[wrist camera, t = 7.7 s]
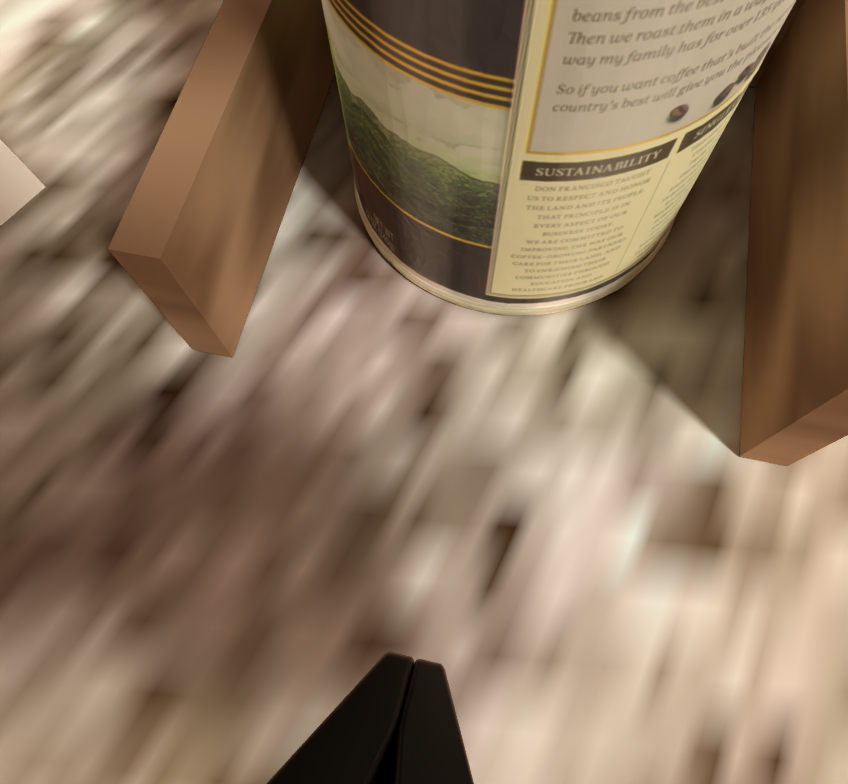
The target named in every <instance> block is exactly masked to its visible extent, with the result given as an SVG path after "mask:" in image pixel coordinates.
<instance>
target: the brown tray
mask: <svg viewBox="0 0 848 784" xmlns="http://www.w3.org/2000/svg"><path fill="white" fill-rule="evenodd" d="M334 74H335V69H334V63H333V58H332V53H331V48H330V43H329V38H328V32H327V27H326V22H325V17H324V11H323V6H322V0H224V2H223V4H222V6H221V8H220V10H219V12H218V14H217V17H216V19H215V21H214V23H213V25H212V27H211V29H210V31H209V34H208V36H207V38H206V40H205V42H204V44H203V46H202V49H201V51H200V53H199V55H198V57H197V59H196V61H195V63H194V66H193V68H192V70H191V72H190V74H189V76H188V78H187V81H186V83H185V85H184V87H183V89H182V91H181V93H180V95H179V98H178V100H177V102H176V104H175V106H174V108H173V110H172V113H171V115H170V117H169V119H168V121H167V123H166V125H165V128H164V130H163V132H162V134H161V136H160V138H159V140H158V142H157V145H156V147H155V149H154V151H153V153H152V155H151V157H150V160H149V162H148V164H147V166H146V168H145V170H144V172H143V174H142V177H141V179H140V181H139V183H138V185H137V187H136V189H135V192H134V194H133V196H132V198H131V200H130V202H129V204H128V207H127V209H126V211H125V213H124V215H123V217H122V219H121V221H120V224H119V226H118V228H117V230H116V232H115V234H114V236H113V239H112V241H111V243H110V245H109V247H108V250H109V251H110V252H111V254H112V255H113V256H114V257H115V258H116V260H117V261H118V262H119V263H120V264H121V265H122V267H123V268H124V269H125V270H126V271H127V272H128V274H129V275H130V276H131V277H132V278H133V280H134V281H135V282H136V283H137V284H138V285H139V287H140V288H141V289H142V290H143V291H144V293H145V294H146V295H147V296H148V297H149V298H150V300H151V301H152V302H153V303H154V304H155V306H156V307H157V308H158V309H159V310H160V311H161V313H162V314H163V315H164V316H165V317H166V318H167V320H168V321H169V322H170V323H171V324H172V326H173V327H174V328H175V329H176V330H177V331H178V333H179V334H180V335H181V336H182V337H183V339H184V340H185V341H186V342H187V343H188V344H189V346H190V347H191V348H192V349H193V350H198V351H203V352H208V353H213V354H218V355H223V356H228V357H233V355H234V352H235V349H236V347H237V344H238V341H239V338H240V335H241V333H242V330H243V327H244V324H245V322H246V319H247V316H248V313H249V310H250V308H251V305H252V302H253V299H254V296H255V294H256V291H257V288H258V285H259V283H260V280H261V277H262V274H263V271H264V269H265V266H266V263H267V260H268V258H269V255H270V252H271V249H272V246H273V244H274V241H275V238H276V235H277V233H278V230H279V227H280V224H281V221H282V219H283V216H284V213H285V210H286V208H287V205H288V202H289V199H290V196H291V194H292V191H293V188H294V185H295V182H296V180H297V177H298V174H299V171H300V169H301V166H302V163H303V160H304V157H305V155H306V152H307V149H308V146H309V144H310V141H311V138H312V135H313V132H314V130H315V127H316V124H317V121H318V119H319V116H320V113H321V110H322V107H323V105H324V102H325V99H326V96H327V94H328V91H329V88H330V85H331V82H332V80H333V77H334ZM749 86H751V87H756V88H755V111H754V134H753V157H752V180H751V203H750V226H749V249H748V272H747V295H746V318H745V341H744V364H743V387H742V410H741V433H740V456H739V457H743V458H748V459H754V460H759V461H764V462H769V463H774V464H779V465H784V466H788V465H790V464H792V463H794V462H796V461H798V460H800V459H802V458H804V457H806V456H808V455H810V454H812V453H813V452H815V451H817V450H819V449H821V448H823V447H825V446H827V445H829V444H831V443H833V442H835V441H837V440H839V439H841V438H843V437H845V436H847V435H848V0H796V2H795V4H794V5H793V7H792V9H791V11H790V13H789V14H788V16H787V18H786V20H785V22H784V23H783V25H782V27H781V29H780V31H779V32H778V34H777V36H776V38H775V39H774V41H773V43H772V45H771V47H770V48H769V50H768V52H767V53H766V56H765V58H764V60H763V62H762V63H761V65H760V67H759V69H758V71H757V73H756V74H755V76H754V77H753V79H752V81H751V82H750V84H749Z"/></svg>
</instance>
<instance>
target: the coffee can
mask: <svg viewBox="0 0 848 784" xmlns="http://www.w3.org/2000/svg"><path fill="white" fill-rule="evenodd" d="M795 2H796V0H322V6H323V11H324V17H325V22H326V27H327V32H328V38H329V43H330V48H331V53H332V58H333V63H334V69H335V74H336V79H337V84H338V89H339V95H340V100H341V105H342V111H343V117H344V122H345V128H346V134H347V140H348V145H349V150H350V156H351V163H352V167H353V172H354V191H355V196H356V202H357V206H358V210H359V213H360V216H361V219H362V221H363V223H364V226H365V228H366V230H367V232H368V234H369V236H370V238H371V239H372V241H373V242H374V244H375V246H376V248H377V249H378V250H379V251H380V253H381V254H382V255H383V256H384V257H385V258H386V259H387V260H388V261H389V262H390V263H391V264H392V265H393V267H394V268H396V269H397V270H398V271H399V272H400V273H401V274H402V275H404V276H405V277H406V278H407V279H409V280H410V281H412V282H413V283H414V284H416V285H417V286H419V287H421V288H422V289H424V290H426V291H427V292H429V293H431V294H433V295H435V296H437V297H439V298H441V299H444V300H446V301H448V302H451V303H453V304H456V305H459V306H462V307H465V308H469V309H473V310H477V311H481V312H485V313H491V314H497V315H520V316H527V315H541V314H550V313H557V312H561V311H565V310H569V309H573V308H577V307H580V306H583V305H586V304H588V303H591V302H593V301H596V300H598V299H600V298H603V297H605V296H607V295H609V294H611V293H613V292H615V291H617V290H619V289H620V288H622V287H623V286H624V285H626V284H627V283H628V282H630V281H631V280H632V279H633V278H634V277H635V276H636V275H637V274H639V273H640V272H641V271H642V270H643V269H644V268H645V267H646V266H647V265H648V264H649V263H650V262H651V261H652V259H653V258H654V257H655V256H656V254H657V253H658V251H659V250H660V248H661V247H662V246H663V245H664V243H665V241H666V239H667V237H668V235H669V233H670V231H671V229H672V226H673V223H674V221H675V218H676V216H677V214H678V211H679V210H680V208H681V206H682V204H683V202H684V201H685V199H686V197H687V195H688V193H689V192H690V190H691V188H692V186H693V185H694V183H695V181H696V179H697V178H698V176H699V174H700V172H701V170H702V169H703V167H704V165H705V163H706V161H707V160H708V158H709V156H710V154H711V152H712V151H713V149H714V147H715V145H716V143H717V142H718V140H719V138H720V136H721V134H722V132H723V131H724V129H725V127H726V125H727V123H728V122H729V120H730V118H731V116H732V115H733V113H734V111H735V109H736V107H737V106H738V104H739V102H740V100H741V98H742V97H743V95H744V93H745V91H746V89H747V88H748V86H749V84H750V82H751V81H752V79H753V77H754V76H755V74H756V73H757V71H758V69H759V67H760V65H761V63H762V62H763V60H764V58H765V56H766V53H767V52H768V50H769V48H770V47H771V45H772V43H773V41H774V39H775V38H776V36H777V34H778V32H779V31H780V29H781V27H782V25H783V23H784V22H785V20H786V18H787V16H788V14H789V13H790V11H791V9H792V7H793V5H794V4H795Z"/></svg>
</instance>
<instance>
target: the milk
mask: <svg viewBox="0 0 848 784" xmlns="http://www.w3.org/2000/svg"><path fill="white" fill-rule="evenodd" d="M44 188H45V186H44V185H43V183H42V182H41V181H40V180H39V179H38V178H37V177H36V176H35V175H34V174H33V173H32V172H31V171H30V170H29V169H28V168H27V167H26V166H25V165H24V164H23V163H22V162H21V161H20V159H19V158H18V157H17V156H16V155H15V154H14V153H13V152H12V151H11V150H10V149H9V148H8V147H7V146H6V145H5V144H4V143H3V142H2V141H1V140H0V226H1V225H2V224H4V223H5V222H6V221H7V220H8V219H9V218H10V217H12V216H13V215H14V214H15V213H16V212H17V211H18V210H20V209H21V208H22V207H23V206H24V205H25V204H26V203H28V202H29V201H30V200H31V199H32V198H33V197H34V196H36V195H37V194H38V193H39V192H40V191H41V190H43V189H44Z"/></svg>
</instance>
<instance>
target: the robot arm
mask: <svg viewBox="0 0 848 784" xmlns="http://www.w3.org/2000/svg"><path fill="white" fill-rule="evenodd" d="M267 784H474V782H473V779H472V775H471V771H470V767H469V763H468V759H467V755H466V751H465V747H464V743H463V739H462V735H461V731H460V727H459V723H458V719H457V716H456V712H455V708H454V704H453V700H452V696H451V692H450V688H449V684H448V680H447V676H446V672H445V669H444V667H443V666H442V665H441V664H439V663H434V662H430V661H426V660H422V659H418V660H416V661H415V664H414V659H413V658H412V657H410V656H405V655H401V654H397V653H393V652H389V653H386V654H385V655H384V656H383V657H382V658H381V659H380V660H379V661H378V662H377V663H376V665H375V666H374V667H373V668H372V669H371V670H370V671H369V672H368V673H367V674H366V675H365V677H364V678H363V679H362V680H361V681H360V682H359V683H358V684H357V685H356V686H355V688H354V689H353V690H352V691H351V692H350V693H349V694H348V695H347V696H346V697H345V698H344V700H343V701H342V702H341V703H340V704H339V705H338V706H337V707H336V708H335V709H334V711H333V712H332V713H331V714H330V715H329V716H328V717H327V718H326V719H325V720H324V721H323V723H322V724H321V725H320V726H319V727H318V728H317V729H316V730H315V731H314V732H313V733H312V735H311V736H310V737H309V738H308V739H307V740H306V741H305V742H304V743H303V744H302V746H301V747H300V748H299V749H298V750H297V751H296V752H295V753H294V754H293V755H292V756H291V758H290V759H289V760H288V761H287V762H286V763H285V764H284V765H283V766H282V767H281V768H280V770H279V771H278V772H277V773H276V774H275V775H274V776H273V777H272V778H271V779H270V781H269V782H268V783H267Z"/></svg>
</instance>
